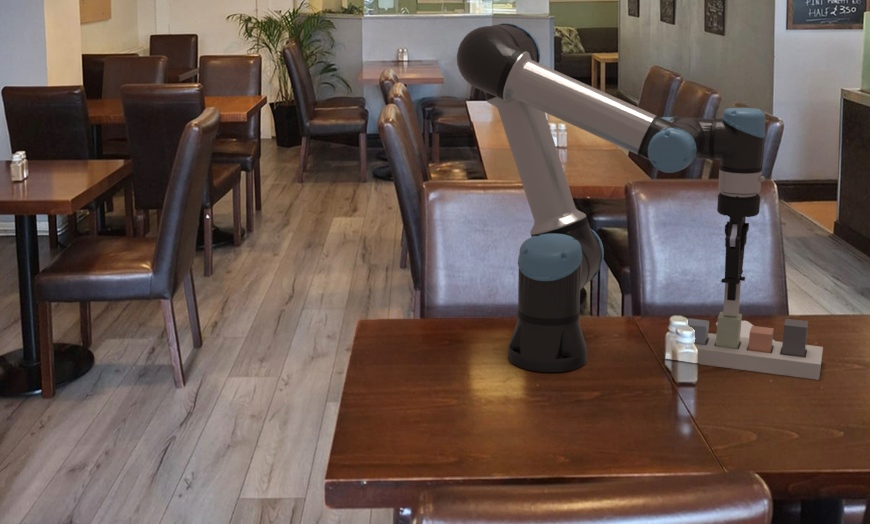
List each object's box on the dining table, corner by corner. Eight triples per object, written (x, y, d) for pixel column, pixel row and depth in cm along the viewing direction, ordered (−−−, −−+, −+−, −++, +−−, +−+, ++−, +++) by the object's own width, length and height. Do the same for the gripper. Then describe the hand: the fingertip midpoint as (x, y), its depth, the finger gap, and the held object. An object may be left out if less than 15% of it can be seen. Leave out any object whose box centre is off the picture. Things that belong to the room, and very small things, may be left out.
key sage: (715, 347, 198) (717, 317, 197) (718, 340, 202) (720, 311, 200) (737, 350, 197) (739, 320, 195) (739, 343, 200) (741, 313, 199)
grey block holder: (664, 359, 200) (665, 344, 199) (673, 343, 209) (674, 329, 208) (819, 379, 189) (820, 364, 189) (821, 361, 198) (823, 346, 198)
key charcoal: (781, 355, 194) (784, 325, 192) (783, 348, 198) (785, 318, 196) (804, 358, 192) (807, 327, 191) (805, 351, 196) (808, 321, 194)
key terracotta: (747, 362, 197) (749, 332, 195) (749, 355, 200) (751, 325, 199) (769, 364, 195) (771, 334, 194) (771, 358, 199) (773, 328, 197)
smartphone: (746, 347, 206) (714, 322, 220) (746, 350, 206) (713, 325, 220) (780, 344, 207) (746, 320, 221) (780, 348, 207) (746, 323, 221)
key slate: (683, 353, 201) (684, 324, 200) (686, 347, 205) (688, 318, 203) (704, 356, 200) (706, 327, 198) (707, 349, 203) (709, 320, 202)
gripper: (756, 201, 184) (747, 327, 191) (763, 187, 196) (754, 307, 202) (713, 198, 187) (705, 322, 193) (723, 185, 199) (715, 303, 205)
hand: (730, 314), depth 198 cm, fingers closed
